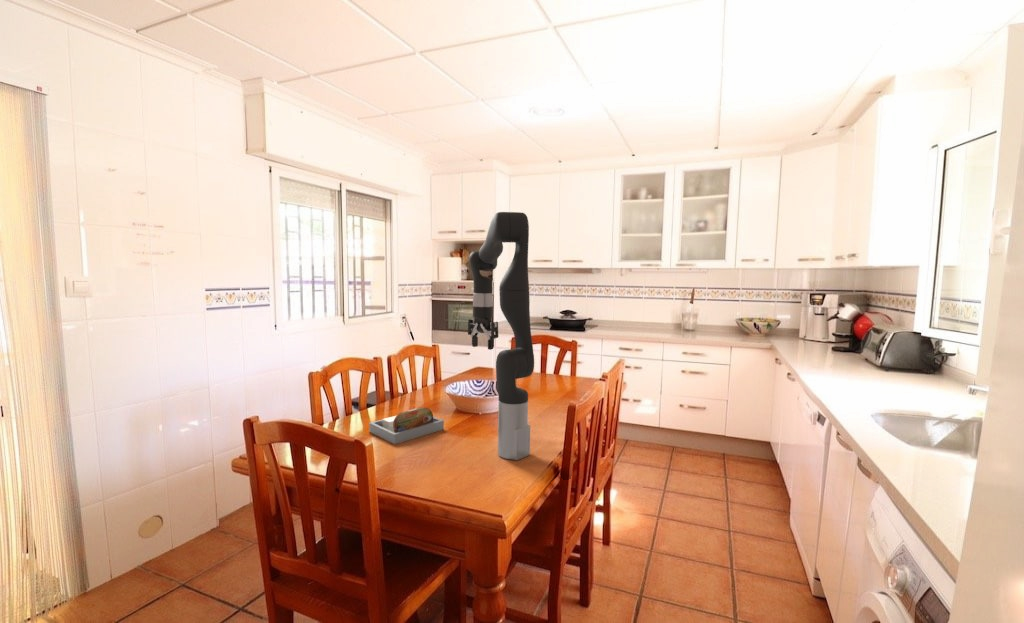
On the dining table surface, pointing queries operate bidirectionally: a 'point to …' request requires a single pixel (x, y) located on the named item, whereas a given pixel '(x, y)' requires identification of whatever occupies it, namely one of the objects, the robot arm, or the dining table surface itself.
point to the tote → (407, 434)
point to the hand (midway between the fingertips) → (482, 347)
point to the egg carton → (388, 423)
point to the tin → (412, 419)
